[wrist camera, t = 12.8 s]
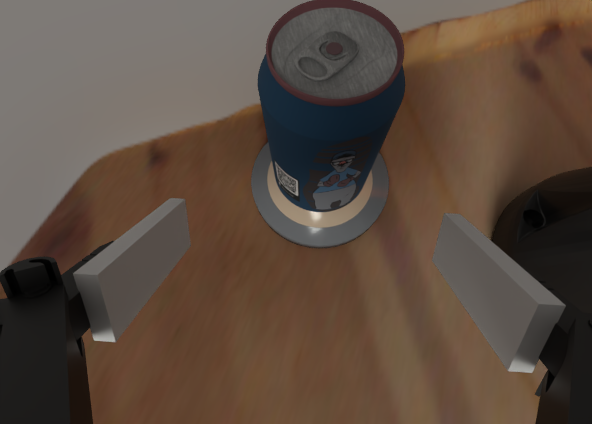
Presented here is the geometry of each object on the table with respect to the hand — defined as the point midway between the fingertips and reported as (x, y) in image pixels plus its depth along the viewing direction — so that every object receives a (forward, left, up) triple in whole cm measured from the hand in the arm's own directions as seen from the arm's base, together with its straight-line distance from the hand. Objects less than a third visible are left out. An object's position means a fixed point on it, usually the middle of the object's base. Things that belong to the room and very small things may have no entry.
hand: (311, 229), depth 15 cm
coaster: (-2, -6, -8) cm, 10 cm away
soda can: (-2, -6, -7) cm, 9 cm away
